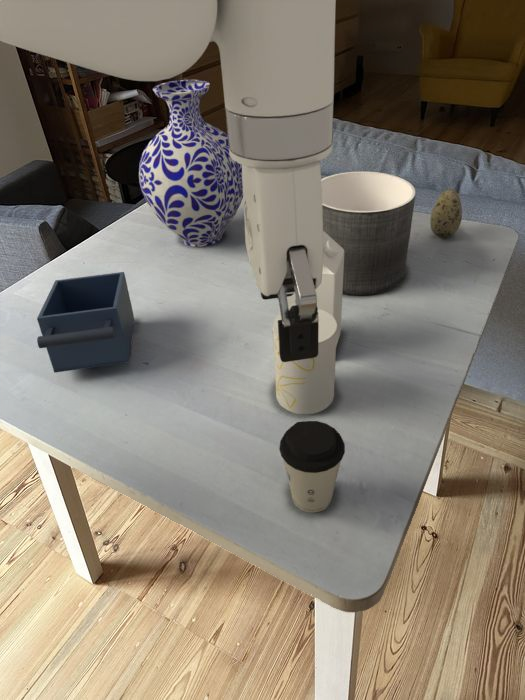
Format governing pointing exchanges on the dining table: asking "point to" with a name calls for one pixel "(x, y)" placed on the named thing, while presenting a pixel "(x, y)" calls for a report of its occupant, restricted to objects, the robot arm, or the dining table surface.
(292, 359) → the robot arm
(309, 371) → the cup
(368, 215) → the planter
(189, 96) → the vase
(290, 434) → the coffee cup
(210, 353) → the dining table surface
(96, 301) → the blue drawer with handle
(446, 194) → the decorative egg
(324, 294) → the milk carton
